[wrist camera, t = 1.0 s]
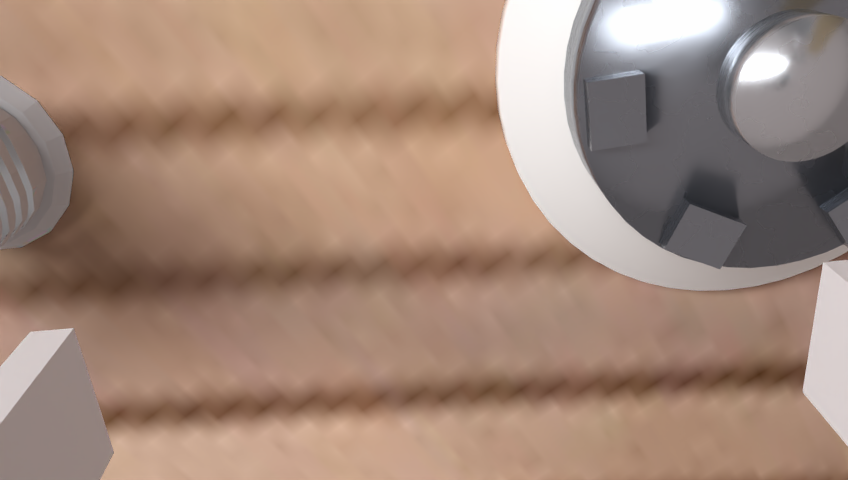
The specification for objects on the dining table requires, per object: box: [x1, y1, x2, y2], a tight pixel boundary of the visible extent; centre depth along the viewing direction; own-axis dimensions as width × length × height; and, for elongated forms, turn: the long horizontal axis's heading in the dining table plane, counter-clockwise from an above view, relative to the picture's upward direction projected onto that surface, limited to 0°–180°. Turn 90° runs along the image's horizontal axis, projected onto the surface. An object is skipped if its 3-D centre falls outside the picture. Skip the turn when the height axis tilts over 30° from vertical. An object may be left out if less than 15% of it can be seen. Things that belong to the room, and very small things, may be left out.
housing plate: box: [495, 0, 848, 291], centre depth 35 cm, size 24×24×2 cm
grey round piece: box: [564, 0, 848, 269], centre depth 30 cm, size 18×18×9 cm
